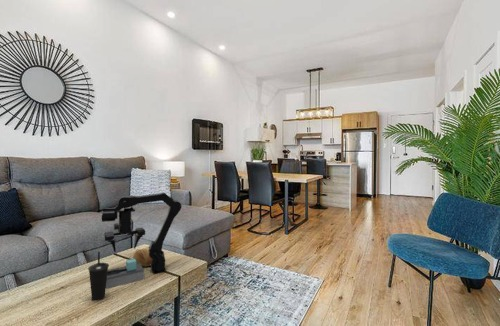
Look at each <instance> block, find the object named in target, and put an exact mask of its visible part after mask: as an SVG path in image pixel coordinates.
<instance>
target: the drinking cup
mask: <svg viewBox="0 0 500 326" xmlns="http://www.w3.org/2000/svg"><path fill="white" fill-rule="evenodd" d="M100 253H101V251H98V252H97V263H93V264H91V265H89V267H88V268H87V269H88V272H89V273H88V274H89V283H90V293H91V300H92V301H93V302H94V301H101V300H103V299H104V298H105V297H106V290H107V289H106V281H107V272H108V270H109V266H110V265H109V263H107V262H101V261H100V260H101V259H100V257H101V254H100Z"/></svg>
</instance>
